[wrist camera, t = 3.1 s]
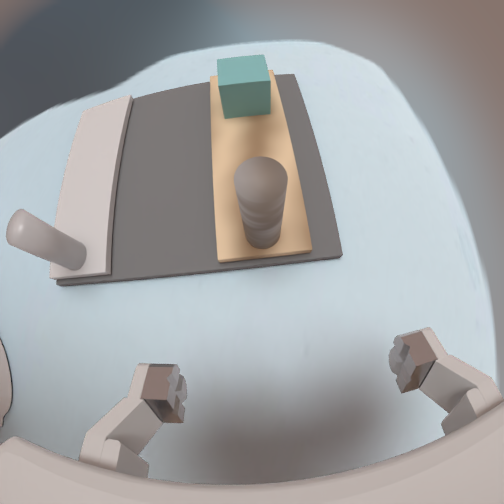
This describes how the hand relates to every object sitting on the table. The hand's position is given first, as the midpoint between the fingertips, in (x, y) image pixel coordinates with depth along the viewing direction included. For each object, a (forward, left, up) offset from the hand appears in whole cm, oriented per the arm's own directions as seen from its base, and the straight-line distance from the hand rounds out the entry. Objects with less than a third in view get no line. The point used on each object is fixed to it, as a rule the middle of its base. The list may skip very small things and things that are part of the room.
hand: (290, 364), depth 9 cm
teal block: (0, +25, -12) cm, 28 cm away
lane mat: (-8, +19, -15) cm, 26 cm away
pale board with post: (-19, +19, -13) cm, 30 cm away
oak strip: (0, +19, -13) cm, 24 cm away
